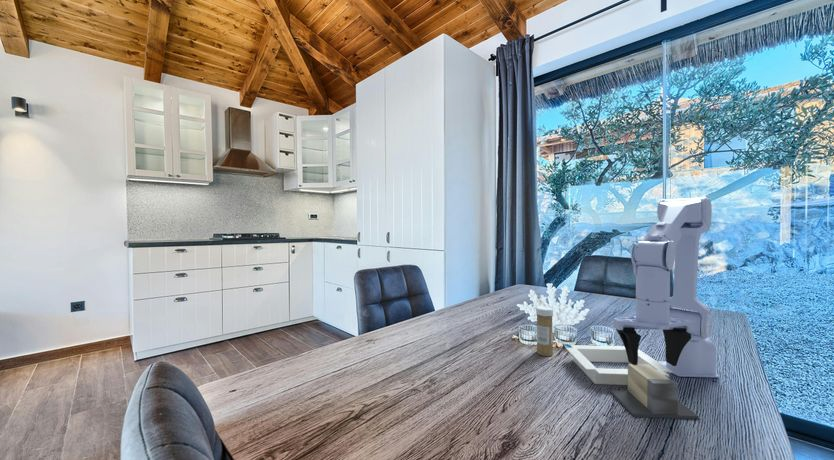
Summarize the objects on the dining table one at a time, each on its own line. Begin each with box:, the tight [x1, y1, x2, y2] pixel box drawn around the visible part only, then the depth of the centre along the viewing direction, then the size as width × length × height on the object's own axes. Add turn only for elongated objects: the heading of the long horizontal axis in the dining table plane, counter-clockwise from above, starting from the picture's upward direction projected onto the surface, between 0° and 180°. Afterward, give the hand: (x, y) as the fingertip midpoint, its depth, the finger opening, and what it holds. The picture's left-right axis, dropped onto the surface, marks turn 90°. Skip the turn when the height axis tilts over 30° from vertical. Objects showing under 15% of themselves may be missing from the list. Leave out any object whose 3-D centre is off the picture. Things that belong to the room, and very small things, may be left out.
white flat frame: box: [565, 344, 673, 386], centre depth 83 cm, size 19×17×4 cm
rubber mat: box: [610, 389, 700, 420], centre depth 68 cm, size 12×9×1 cm
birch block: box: [627, 363, 679, 415], centre depth 69 cm, size 5×9×6 cm, turn 176°
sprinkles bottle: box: [535, 305, 554, 357], centre depth 95 cm, size 5×5×13 cm
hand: (651, 363), depth 68 cm, fingers open, 7 cm apart
